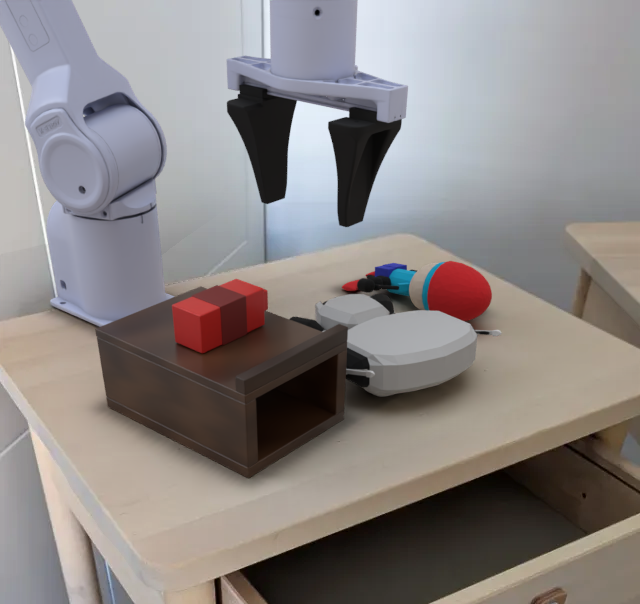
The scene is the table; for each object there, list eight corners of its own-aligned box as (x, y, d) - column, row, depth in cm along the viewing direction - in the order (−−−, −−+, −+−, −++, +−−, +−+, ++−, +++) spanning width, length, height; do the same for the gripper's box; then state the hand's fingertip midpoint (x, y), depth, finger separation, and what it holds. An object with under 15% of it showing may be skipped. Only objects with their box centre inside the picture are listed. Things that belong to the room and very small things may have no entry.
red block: (174, 342, 56) (170, 303, 55) (247, 310, 60) (245, 272, 59) (203, 355, 55) (200, 315, 53) (275, 321, 59) (274, 283, 57)
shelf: (107, 406, 62) (92, 314, 57) (206, 359, 68) (199, 272, 63) (248, 478, 55) (244, 380, 50) (344, 419, 61) (348, 326, 56)
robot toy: (262, 360, 69) (376, 428, 59) (258, 305, 67) (377, 367, 57) (380, 326, 75) (502, 382, 65) (381, 274, 72) (509, 324, 62)
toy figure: (335, 308, 79) (456, 337, 69) (334, 252, 77) (459, 274, 67) (394, 295, 83) (516, 320, 73) (394, 242, 81) (521, 260, 71)
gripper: (442, -1, 54) (421, 220, 63) (271, -22, 61) (274, 180, 70) (375, 10, 50) (363, 245, 58) (200, -14, 57) (213, 199, 65)
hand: (311, 211), depth 64 cm, fingers open, 7 cm apart
